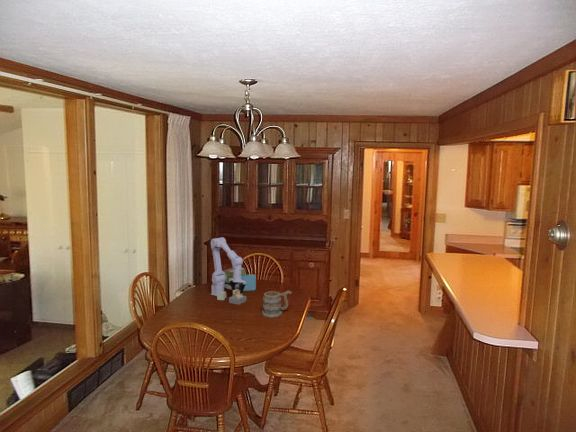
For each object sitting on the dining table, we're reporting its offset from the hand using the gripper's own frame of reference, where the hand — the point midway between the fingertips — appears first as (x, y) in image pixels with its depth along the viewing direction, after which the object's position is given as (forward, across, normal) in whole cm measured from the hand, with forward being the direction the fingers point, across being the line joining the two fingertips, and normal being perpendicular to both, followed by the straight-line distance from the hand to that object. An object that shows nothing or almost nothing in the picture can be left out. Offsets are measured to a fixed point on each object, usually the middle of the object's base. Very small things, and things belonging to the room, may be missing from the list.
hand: (237, 292), depth 299 cm
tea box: (+7, -26, +26) cm, 38 cm away
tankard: (+7, +37, -2) cm, 38 cm away
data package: (+7, -12, +26) cm, 30 cm away
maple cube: (+3, 0, 0) cm, 4 cm away
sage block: (+7, -14, -2) cm, 16 cm away
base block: (+8, 0, 0) cm, 8 cm away
